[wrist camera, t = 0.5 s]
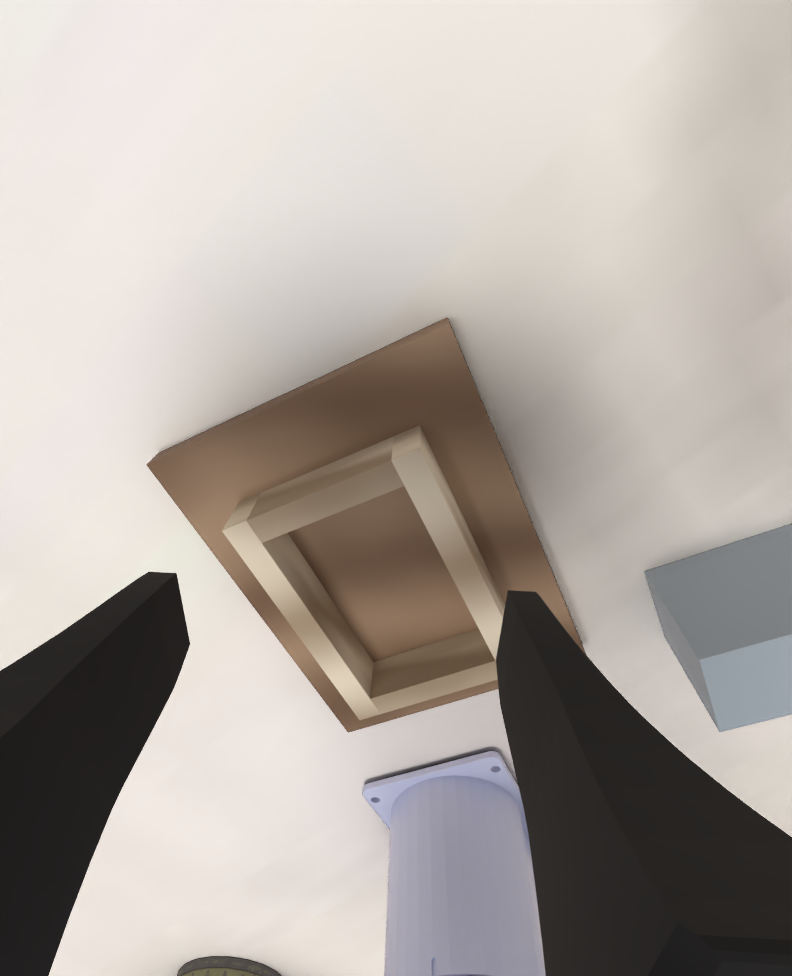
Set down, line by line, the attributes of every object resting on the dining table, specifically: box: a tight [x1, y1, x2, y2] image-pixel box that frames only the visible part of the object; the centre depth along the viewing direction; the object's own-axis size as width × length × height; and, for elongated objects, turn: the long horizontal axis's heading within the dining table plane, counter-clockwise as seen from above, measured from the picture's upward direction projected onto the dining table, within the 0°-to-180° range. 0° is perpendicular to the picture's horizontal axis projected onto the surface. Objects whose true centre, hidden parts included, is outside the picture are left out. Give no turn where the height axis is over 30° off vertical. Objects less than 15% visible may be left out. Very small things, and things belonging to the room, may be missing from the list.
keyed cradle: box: [147, 318, 586, 732], centre depth 21 cm, size 16×12×3 cm
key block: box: [644, 524, 792, 732], centre depth 20 cm, size 4×7×5 cm, turn 115°
